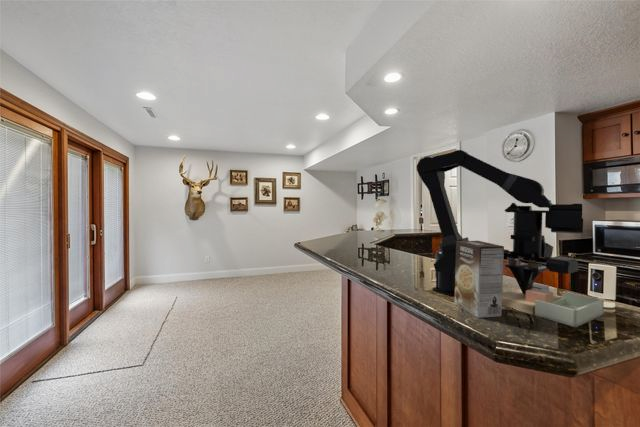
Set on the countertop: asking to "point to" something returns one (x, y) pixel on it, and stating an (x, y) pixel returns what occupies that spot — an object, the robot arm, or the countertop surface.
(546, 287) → the tile slate
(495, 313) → the coffee box
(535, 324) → the countertop surface
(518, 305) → the deck
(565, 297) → the tray
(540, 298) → the tile terracotta
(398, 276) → the countertop surface
